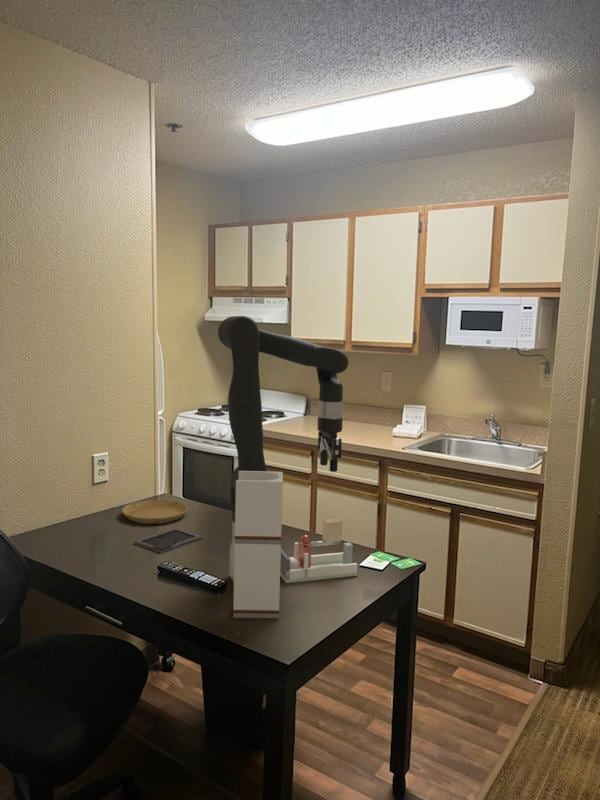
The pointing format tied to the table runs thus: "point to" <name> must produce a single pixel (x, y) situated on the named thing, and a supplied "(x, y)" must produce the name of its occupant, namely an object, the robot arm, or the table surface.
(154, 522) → the plant saucer
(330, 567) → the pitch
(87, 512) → the table surface
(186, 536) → the picture frame
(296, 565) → the ball
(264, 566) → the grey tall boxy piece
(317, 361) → the robot arm
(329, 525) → the striker
